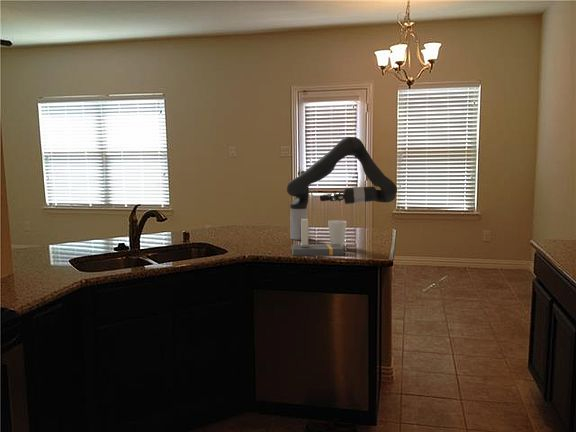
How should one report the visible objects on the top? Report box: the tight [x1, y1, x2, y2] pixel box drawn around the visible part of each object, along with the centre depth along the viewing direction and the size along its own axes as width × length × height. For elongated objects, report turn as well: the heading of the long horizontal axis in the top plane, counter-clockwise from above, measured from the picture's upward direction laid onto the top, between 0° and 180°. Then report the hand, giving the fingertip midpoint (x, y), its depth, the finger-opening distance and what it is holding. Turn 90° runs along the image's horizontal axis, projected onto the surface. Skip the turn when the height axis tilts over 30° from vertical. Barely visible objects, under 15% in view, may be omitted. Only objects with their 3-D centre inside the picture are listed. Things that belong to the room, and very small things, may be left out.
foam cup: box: [327, 219, 347, 248], centre depth 244 cm, size 10×9×13 cm
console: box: [291, 243, 345, 257], centre depth 229 cm, size 24×12×3 cm, turn 93°
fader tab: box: [300, 218, 310, 247], centre depth 228 cm, size 4×4×13 cm
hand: (320, 198), depth 225 cm, fingers open, 8 cm apart
